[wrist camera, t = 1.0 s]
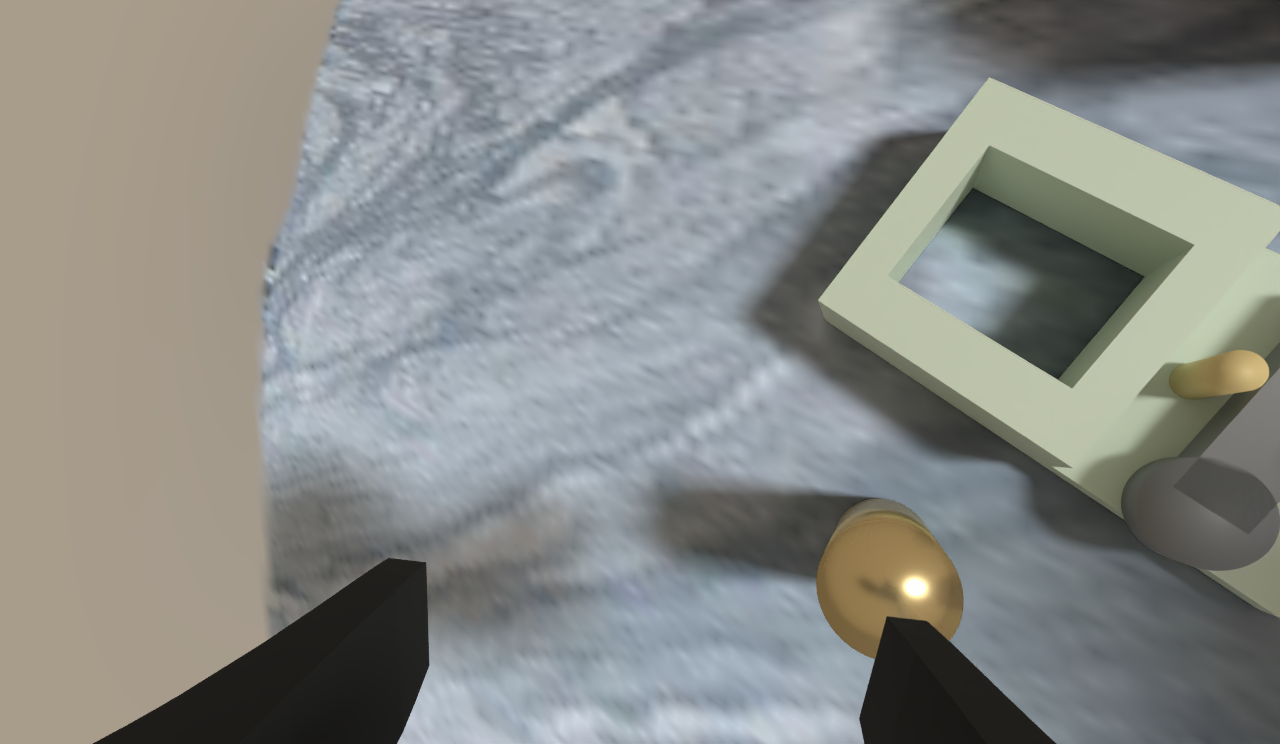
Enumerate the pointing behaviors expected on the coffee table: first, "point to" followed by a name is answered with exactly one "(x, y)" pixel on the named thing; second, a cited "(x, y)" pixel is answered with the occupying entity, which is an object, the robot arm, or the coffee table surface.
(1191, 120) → the coffee table surface
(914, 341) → the slot jig
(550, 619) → the coffee table surface
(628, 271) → the coffee table surface
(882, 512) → the brass pin
